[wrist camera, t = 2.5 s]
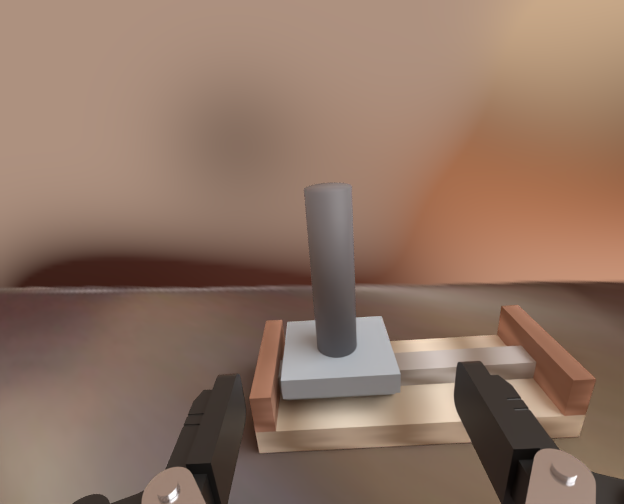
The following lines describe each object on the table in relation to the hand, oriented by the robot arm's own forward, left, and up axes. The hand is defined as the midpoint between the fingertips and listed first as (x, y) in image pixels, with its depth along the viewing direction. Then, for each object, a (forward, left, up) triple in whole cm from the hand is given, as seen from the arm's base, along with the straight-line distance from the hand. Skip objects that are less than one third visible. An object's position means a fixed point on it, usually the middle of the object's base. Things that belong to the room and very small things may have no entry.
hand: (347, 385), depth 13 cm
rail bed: (-5, -12, -12) cm, 18 cm away
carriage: (0, -12, -10) cm, 15 cm away
